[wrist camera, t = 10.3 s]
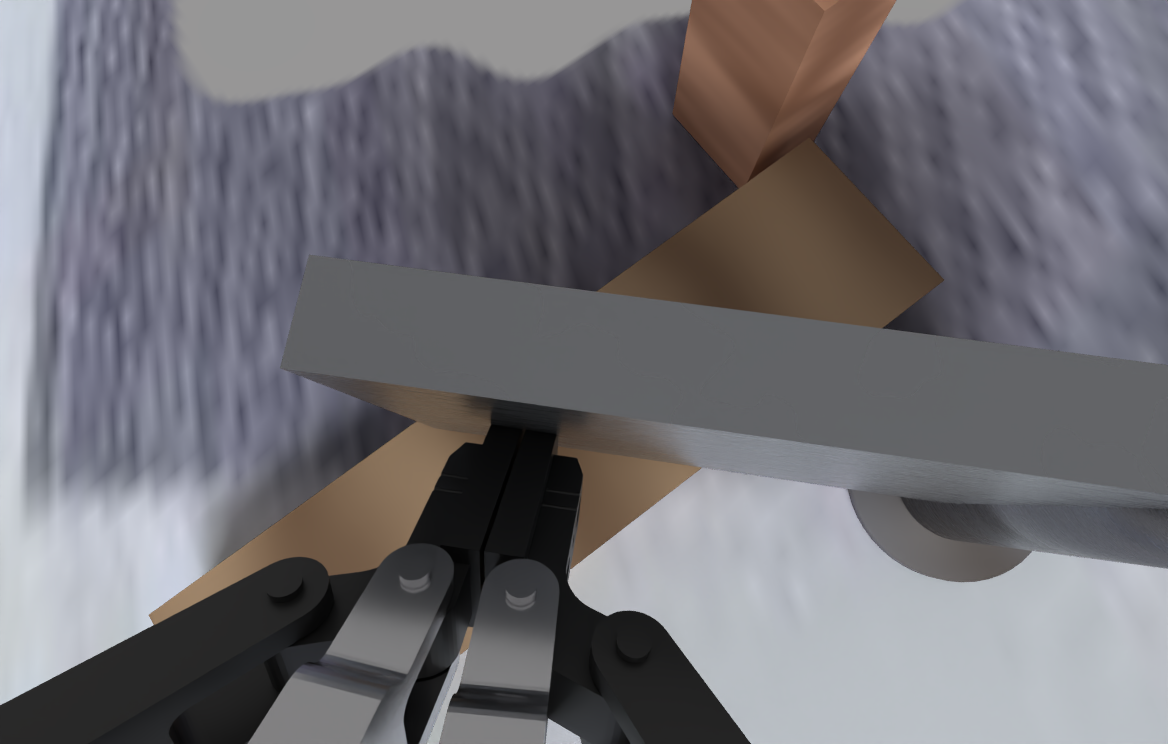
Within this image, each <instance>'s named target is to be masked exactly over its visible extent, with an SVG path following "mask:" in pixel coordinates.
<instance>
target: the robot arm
mask: <svg viewBox="0 0 1168 744" xmlns="http://www.w3.org/2000/svg"><path fill="white" fill-rule="evenodd" d="M558 439H559V436H558V435H557V434H552V433H545V432H538V431H531V430H525V431H524V430H522V429H518V428H511V427H504V426H497V425H491V426H490V428H489V430H488V432H487V435H486V437H485V440H484V442H483V444H476V443H469V442H465V443H464V444H463V445H462V446H461V447H459V448H458V449H457V450H456V451H455V452H453V453H452V454H451V455H450V456H449V458H448V460H447V462H446V464H445V466H444V468H443V470H442V472H441V477H440V476H439V479H438V481H437V483H436V485H435V487H434V491H432V493H431V495H430V497H429V499H428V501H427V503H426V505H425V507H424V509H423V512H422V514H421V516H420V518H419V520H418V522H417V524H416V526H415V528H414V530H413V532H412V534H411V536H410V538H409V540H408V542H407V544H406V546H403V547H401V548H399V549H397V550H395V551H393V552H392V553H391V554H389V555H388V556H387V557H386V558H385V559H384V560H383V561H382V563H381V564H380V565H379V567H377V568H374V569H371V570H367V571H361V572H354V573H346V574H338V575H330V576H329V575H328V572H327V570H326V568H325V567H324V566H323V565H322V563H320V562H318V561H317V560H314V559H312V558H307V557H291V558H286V559H283V560H279V561H277V562H274V563H272V564H270V565H268V566H266V567H264V568H262V569H261V570H259V571H257V572H255V573H253V574H251V575H249V576H247V577H245V578H243V579H241V580H239V581H238V582H236V583H234V584H232V585H230V586H228V587H226V588H224V589H222V590H220V591H218V592H217V593H215V594H213V595H211V596H209V597H207V598H205V599H203V600H201V601H199V602H197V603H195V604H194V605H192V606H190V607H188V608H186V609H184V610H182V611H180V612H178V613H176V614H174V615H172V616H171V617H169V618H167V619H165V620H163V621H161V622H159V623H157V624H155V625H153V626H151V627H150V628H148V629H146V630H144V631H142V632H140V633H138V634H136V635H134V636H132V637H130V638H128V639H127V640H125V641H123V642H121V643H119V644H117V645H115V646H113V647H111V648H109V649H107V650H106V651H104V652H102V653H100V654H98V655H96V656H94V657H92V658H90V659H88V660H86V661H84V662H83V663H81V664H79V665H77V666H75V667H73V668H71V669H69V670H67V671H65V672H63V673H61V674H60V675H58V676H56V677H54V678H52V679H50V680H48V681H46V682H44V683H42V684H40V685H39V686H37V687H35V688H33V689H31V690H29V691H27V692H25V693H23V694H21V695H19V696H17V697H16V698H14V699H12V700H10V701H8V702H6V703H4V704H2V705H0V744H427V742H428V739H429V737H430V734H431V732H432V729H433V727H434V724H435V722H436V719H437V717H438V714H439V712H440V709H441V707H442V705H443V702H444V700H445V697H446V695H447V692H448V690H449V687H450V685H451V682H452V680H453V677H454V675H455V672H456V670H457V667H458V664H459V658H460V649H461V646H462V643H463V640H464V637H465V634H466V631H467V628H468V627H473V631H472V635H471V639H470V644H469V648H468V652H467V657H466V661H465V665H464V670H463V674H462V678H461V682H460V686H459V689H458V692H457V693H456V694H454V695H453V696H452V698H451V701H450V704H449V707H448V710H447V714H446V718H445V722H444V726H443V730H442V734H441V738H440V742H439V744H545V743H546V733H547V723H548V718H549V719H551V720H552V721H554V722H556V723H557V724H559V725H561V726H562V727H564V728H566V729H567V730H569V731H571V732H573V733H574V734H576V735H578V736H579V737H580V739H581V743H582V744H751V743H750V742H749V741H748V739H747V738H746V737H745V735H744V734H743V732H742V731H741V730H740V728H739V727H738V726H737V724H736V723H735V722H734V720H733V719H732V718H731V716H730V715H729V714H728V712H727V711H726V710H725V708H724V707H723V706H722V704H721V703H720V702H719V700H718V699H717V698H716V696H715V695H714V694H713V692H712V691H711V690H710V688H709V687H708V686H707V684H706V683H705V682H704V680H703V679H702V678H701V676H700V675H699V674H698V672H697V671H696V670H695V668H694V667H693V666H692V664H691V663H690V662H689V660H688V659H687V658H686V656H685V655H684V654H683V652H682V651H681V650H680V648H679V647H678V646H677V644H676V643H675V642H674V640H673V639H672V638H671V636H670V635H669V634H668V632H667V631H666V630H665V629H664V627H663V626H662V625H661V624H660V623H659V622H657V621H656V620H655V619H653V618H652V617H650V616H648V615H646V614H644V613H640V612H636V611H620V612H616V613H613V614H611V615H609V616H605V615H603V614H601V613H599V612H597V611H595V610H593V609H592V608H590V607H588V606H586V605H585V604H584V603H582V602H581V601H580V600H579V599H578V598H577V597H576V596H575V595H574V593H573V592H572V590H571V589H570V587H569V584H568V578H569V573H570V567H571V561H572V556H573V550H574V545H575V539H576V533H577V528H578V522H579V513H580V503H581V493H582V484H583V473H582V470H581V467H580V464H579V462H578V459H577V458H574V457H567V456H560V455H557V453H558Z"/></svg>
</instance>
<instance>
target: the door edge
mask: <svg viewBox="0 0 1168 744" xmlns="http://www.w3.org/2000/svg"><path fill="white" fill-rule="evenodd" d="M895 2H896V0H692V4H691V9H690V15H689V21H688V27H687V32H686V38H685V44H684V50H683V56H682V61H681V67H680V73H679V79H678V84H677V90H676V96H675V102H674V108H673V113H672V114H673V115H674V116H675V118H676V119H677V120H678V121H679V122H680V123H681V124H682V125H683V126H684V128H685V129H686V130H687V131H688V132H689V133H690V134H691V135H692V137H693V138H694V139H695V140H696V141H697V142H698V143H699V144H700V146H701V147H702V148H703V149H704V150H705V151H706V152H707V153H708V154H709V156H710V157H711V158H712V159H713V160H714V161H715V162H716V163H717V165H718V166H719V167H720V168H721V169H722V170H723V171H724V172H725V173H726V175H727V176H728V177H729V178H730V179H731V180H732V181H733V182H734V184H735V185H736V186H737V187H738V188H739V189H738V190H736V191H735V192H733V193H732V194H731V195H729V196H728V197H726V198H725V199H724V200H722V201H721V202H720V203H718V204H717V205H715V206H714V207H713V208H711V209H710V210H708V211H707V212H706V213H704V214H703V215H702V216H700V217H699V218H697V219H696V220H695V221H693V222H692V223H690V224H689V225H688V226H686V227H685V228H684V229H682V230H681V231H679V232H678V233H677V234H675V235H674V236H672V237H671V238H670V239H668V240H667V241H666V242H664V243H663V244H661V245H660V246H659V247H657V248H656V249H654V250H653V251H652V252H650V253H649V254H648V255H646V256H645V257H643V258H642V259H641V260H639V261H638V262H636V263H635V264H634V265H632V266H631V267H630V268H628V269H627V270H625V271H624V272H623V273H621V274H620V275H618V276H617V277H616V278H614V279H613V280H612V281H610V282H609V283H607V284H606V285H605V286H603V287H602V288H600V289H599V290H598V291H596V292H603V293H610V294H618V295H626V296H634V297H641V298H649V299H657V300H665V301H673V302H680V303H688V304H696V305H704V306H711V307H719V308H727V309H735V310H743V311H750V312H758V313H766V314H774V315H781V316H789V317H797V318H805V319H813V320H820V321H828V322H836V323H844V324H851V325H859V326H867V327H875V328H883V327H884V326H886V325H887V324H888V323H890V322H891V321H892V320H893V319H895V318H896V317H897V316H899V315H900V314H901V313H903V312H904V311H905V310H906V309H908V308H909V307H910V306H912V305H913V304H914V303H915V302H917V301H918V300H919V299H921V298H922V297H923V296H925V295H926V294H927V293H928V292H930V291H931V290H932V289H934V288H935V287H936V286H937V285H939V284H940V283H941V282H943V281H944V279H943V278H942V277H941V276H940V275H939V274H938V273H937V272H936V271H935V270H934V269H933V268H932V266H931V265H930V264H929V263H928V262H927V261H926V260H925V259H924V258H923V257H922V256H921V255H920V254H919V253H918V252H917V251H916V250H915V249H914V247H913V246H912V245H911V244H910V243H909V242H908V241H907V240H906V239H905V238H904V237H903V236H902V235H901V234H900V233H899V232H898V231H897V229H896V228H895V227H894V226H893V225H892V224H891V223H890V222H889V221H888V220H887V219H886V218H885V217H884V216H883V215H882V214H881V213H880V212H879V210H878V209H877V208H876V207H875V206H874V205H873V204H872V203H871V202H870V201H869V200H868V199H867V198H866V197H865V196H864V195H863V194H862V192H861V191H860V190H859V189H858V188H857V187H856V186H855V185H854V184H853V183H852V182H851V181H850V180H849V179H848V178H847V177H846V176H845V175H844V173H843V172H842V171H841V170H840V169H839V168H838V167H837V166H836V165H835V164H834V163H833V162H832V161H831V160H830V159H829V158H828V157H827V155H826V154H825V153H824V152H823V151H822V150H821V149H820V148H819V147H818V146H817V145H816V144H815V143H814V142H813V141H814V140H815V138H816V137H817V135H818V133H819V132H820V130H821V128H822V126H823V125H824V123H825V121H826V120H827V118H828V116H829V115H830V113H831V111H832V109H833V108H834V106H835V104H836V103H837V101H838V99H839V97H840V96H841V94H842V92H843V91H844V89H845V87H846V86H847V84H848V82H849V80H850V79H851V77H852V75H853V74H854V72H855V70H856V68H857V67H858V65H859V63H860V62H861V60H862V58H863V57H864V55H865V53H866V51H867V50H868V48H869V46H870V45H871V43H872V41H873V39H874V38H875V36H876V34H877V33H878V31H879V29H880V28H881V26H882V24H883V22H884V21H885V19H886V17H887V16H888V14H889V12H890V10H891V9H892V7H893V5H894V4H895ZM485 437H486V436H484V435H477V434H471V433H464V432H457V431H450V430H443V429H437V428H433V427H430V426H428V425H425V424H423V423H420V422H418V421H416V422H415V423H414V424H412V425H411V426H409V427H408V428H407V429H405V430H404V431H403V432H401V433H400V434H398V435H397V436H396V437H394V438H393V439H391V440H390V441H389V442H387V443H386V444H385V445H383V446H382V447H380V448H379V449H378V450H376V451H375V452H373V453H372V454H371V455H369V456H368V457H367V458H365V459H364V460H362V461H361V462H360V463H358V464H357V465H355V466H354V467H353V468H351V469H350V470H349V471H347V472H346V473H344V474H343V475H342V476H340V477H339V478H337V479H336V480H335V481H333V482H332V483H331V484H329V485H328V486H326V487H325V488H324V489H322V490H321V491H319V492H318V493H317V494H315V495H314V496H313V497H311V498H310V499H308V500H307V501H306V502H304V503H303V504H301V505H300V506H299V507H297V508H296V509H295V510H293V511H292V512H290V513H289V514H288V515H286V516H285V517H283V518H282V519H281V520H279V521H278V522H277V523H275V524H274V525H272V526H271V527H270V528H268V529H267V530H265V531H264V532H263V533H261V534H260V535H259V536H257V537H256V538H254V539H253V540H252V541H250V542H249V543H247V544H246V545H245V546H243V547H242V548H241V549H239V550H238V551H236V552H235V553H234V554H232V555H231V556H229V557H228V558H227V559H225V560H224V561H223V562H221V563H220V564H218V565H217V566H216V567H214V568H213V569H211V570H210V571H209V572H207V573H206V574H205V575H203V576H202V577H200V578H199V579H198V580H196V581H195V582H194V583H192V584H191V585H189V586H188V587H187V588H185V589H184V590H182V591H181V592H180V593H178V594H177V595H176V596H174V597H173V598H171V599H170V600H169V601H167V602H166V603H164V604H163V605H162V606H160V607H159V608H158V609H156V610H155V611H153V612H152V613H151V614H149V617H150V619H151V620H152V622H153V624H154V625H155V624H157V623H159V622H161V621H163V620H165V619H167V618H169V617H171V616H172V615H174V614H176V613H178V612H180V611H182V610H184V609H186V608H188V607H190V606H192V605H194V604H195V603H197V602H199V601H201V600H203V599H205V598H207V597H209V596H211V595H213V594H215V593H217V592H218V591H220V590H222V589H224V588H226V587H228V586H230V585H232V584H234V583H236V582H238V581H239V580H241V579H243V578H245V577H247V576H249V575H251V574H253V573H255V572H257V571H259V570H261V569H262V568H264V567H266V566H268V565H270V564H272V563H274V562H277V561H279V560H283V559H286V558H291V557H307V558H312V559H314V560H317V561H318V562H320V563H322V565H323V566H324V567H325V568H326V570H327V572H328V575H329V576H330V575H338V574H346V573H354V572H361V571H367V570H371V569H374V568H377V567H379V565H380V564H381V563H382V561H383V560H384V559H385V558H386V557H387V556H388V555H389V554H391V553H392V552H393V551H395V550H397V549H399V548H401V547H403V546H406V544H407V542H408V540H409V538H410V536H411V534H412V532H413V530H414V528H415V526H416V524H417V522H418V520H419V518H420V516H421V514H422V512H423V509H424V507H425V505H426V503H427V501H428V499H429V497H430V495H431V493H432V491H434V487H435V485H436V483H437V481H438V479H439V476H440V477H441V472H442V470H443V468H444V466H445V464H446V462H447V460H448V458H449V456H450V455H451V454H452V453H453V452H455V451H456V450H457V449H458V448H459V447H461V446H462V445H463V444H464V443H465V442H469V443H476V444H483V442H484V440H485ZM557 455H560V456H567V457H574V458H577V459H578V462H579V464H580V467H581V470H582V473H583V484H582V493H581V503H580V513H579V522H578V528H577V533H576V539H575V545H574V550H573V556H572V561H571V567H570V569H572V568H573V567H574V566H575V565H577V564H578V563H579V562H581V561H582V560H583V559H584V558H586V557H587V556H588V555H590V554H591V553H592V552H594V551H595V550H596V549H597V548H599V547H600V546H601V545H603V544H604V543H605V542H606V541H608V540H609V539H610V538H612V537H613V536H614V535H616V534H617V533H618V532H619V531H621V530H622V529H623V528H625V527H626V526H627V525H628V524H630V523H631V522H632V521H634V520H635V519H636V518H638V517H639V516H640V515H641V514H643V513H644V512H645V511H647V510H648V509H649V508H650V507H652V506H653V505H654V504H656V503H657V502H658V501H659V500H661V499H662V498H663V497H665V496H666V495H667V494H669V493H670V492H671V491H672V490H674V489H675V488H676V487H678V486H679V485H680V484H681V483H683V482H684V481H685V480H687V479H688V478H689V477H691V476H692V475H693V474H694V473H696V472H697V471H698V470H700V469H701V468H702V467H695V466H689V465H682V464H675V463H668V462H661V461H654V460H648V459H641V458H634V457H627V456H620V455H614V454H607V453H600V452H593V451H586V450H580V449H573V448H566V447H559V446H558V453H557ZM848 490H849V494H850V498H851V502H852V505H853V507H854V510H855V512H856V515H857V517H858V519H859V520H860V522H861V524H862V526H863V528H864V529H865V530H866V532H867V533H868V535H869V536H870V537H871V539H872V540H873V541H874V542H875V543H876V544H877V545H878V546H879V547H880V548H881V549H882V550H883V551H884V552H885V553H886V554H887V555H889V556H890V557H891V558H892V559H894V560H895V561H897V562H898V563H900V564H901V565H903V566H905V567H907V568H909V569H911V570H913V571H915V572H918V573H920V574H923V575H926V576H929V577H933V578H937V579H942V580H947V581H955V582H975V581H981V580H986V579H990V578H993V577H996V576H999V575H1001V574H1003V573H1005V572H1007V571H1009V570H1011V569H1012V568H1014V567H1015V566H1017V565H1018V564H1019V563H1021V562H1022V561H1023V560H1024V559H1025V558H1026V557H1027V556H1028V555H1029V554H1030V553H1031V552H1032V551H1030V550H1023V549H1015V548H1008V547H1000V546H992V545H985V544H977V543H970V542H962V541H955V540H950V539H946V538H943V537H940V536H938V535H936V534H934V533H932V532H930V531H929V530H927V529H926V528H924V527H923V526H922V525H920V524H919V523H918V522H917V521H916V520H915V519H914V518H913V517H912V515H911V514H910V513H909V511H908V510H907V509H906V507H905V505H904V503H903V502H902V499H901V497H900V496H893V495H886V494H879V493H872V492H866V491H859V490H852V489H848ZM472 631H473V627H468V628H467V631H466V634H465V637H464V640H463V643H462V646H461V649H460V654H462V653H463V652H464V651H466V650H467V649H468V648H469V644H470V639H471V635H472Z"/></svg>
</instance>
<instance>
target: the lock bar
mask: <svg viewBox="0 0 1168 744" xmlns="http://www.w3.org/2000/svg"><path fill="white" fill-rule="evenodd" d="M280 368H281V369H284V370H286V371H289V372H291V373H294V374H296V375H299V376H302V377H304V378H307V379H309V380H312V381H315V382H317V383H320V384H322V385H325V386H327V387H330V388H333V389H335V390H338V391H340V392H343V393H345V394H348V395H351V396H353V397H356V398H358V399H361V400H363V401H366V402H369V403H371V404H374V405H376V406H379V407H381V408H384V409H387V410H389V411H392V412H394V413H397V414H400V415H402V416H405V417H407V418H410V419H412V420H415V421H418V422H420V423H423V424H425V425H428V426H430V427H433V428H437V429H443V430H450V431H457V432H464V433H471V434H477V435H484V436H486V435H487V432H488V430H489V428H490V426H491V425H497V426H504V427H511V428H518V429H522V430H524V431H525V430H531V431H538V432H545V433H552V434H557V435H558V436H559V439H558V446H559V447H566V448H573V449H580V450H586V451H593V452H600V453H607V454H614V455H620V456H627V457H634V458H641V459H648V460H654V461H661V462H668V463H675V464H682V465H689V466H695V467H702V468H709V469H716V470H723V471H729V472H736V473H743V474H750V475H757V476H763V477H770V478H777V479H784V480H791V481H797V482H804V483H811V484H818V485H825V486H831V487H838V488H845V489H852V490H859V491H866V492H872V493H879V494H886V495H893V496H900V497H901V499H902V502H903V503H904V505H905V507H906V509H907V510H908V511H909V513H910V514H911V515H912V517H913V518H914V519H915V520H916V521H917V522H918V523H919V524H920V525H922V526H923V527H924V528H926V529H927V530H929V531H930V532H932V533H934V534H936V535H938V536H940V537H943V538H946V539H950V540H955V541H962V542H970V543H977V544H985V545H992V546H1000V547H1008V548H1015V549H1023V550H1030V551H1038V552H1046V553H1053V554H1061V555H1069V556H1076V557H1084V558H1091V559H1099V560H1107V561H1114V562H1122V563H1130V564H1137V565H1145V566H1152V567H1160V568H1168V365H1163V364H1155V363H1147V362H1139V361H1131V360H1124V359H1116V358H1108V357H1100V356H1093V355H1085V354H1077V353H1069V352H1061V351H1054V350H1046V349H1038V348H1030V347H1023V346H1015V345H1007V344H999V343H991V342H984V341H976V340H968V339H960V338H953V337H945V336H937V335H929V334H921V333H914V332H906V331H898V330H890V329H883V328H875V327H867V326H859V325H851V324H844V323H836V322H828V321H820V320H813V319H805V318H797V317H789V316H781V315H774V314H766V313H758V312H750V311H743V310H735V309H727V308H719V307H711V306H704V305H696V304H688V303H680V302H673V301H665V300H657V299H649V298H641V297H634V296H626V295H618V294H610V293H603V292H595V291H587V290H579V289H571V288H564V287H556V286H548V285H540V284H533V283H525V282H517V281H509V280H501V279H494V278H486V277H478V276H470V275H463V274H455V273H447V272H439V271H431V270H424V269H416V268H408V267H400V266H393V265H385V264H377V263H369V262H361V261H354V260H346V259H338V258H330V257H323V256H315V255H309V258H308V261H307V265H306V269H305V273H304V277H303V281H302V285H301V289H300V293H299V296H298V300H297V304H296V308H295V312H294V316H293V320H292V324H291V328H290V331H289V335H288V339H287V343H286V347H285V351H284V355H283V359H282V362H281V366H280Z"/></svg>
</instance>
